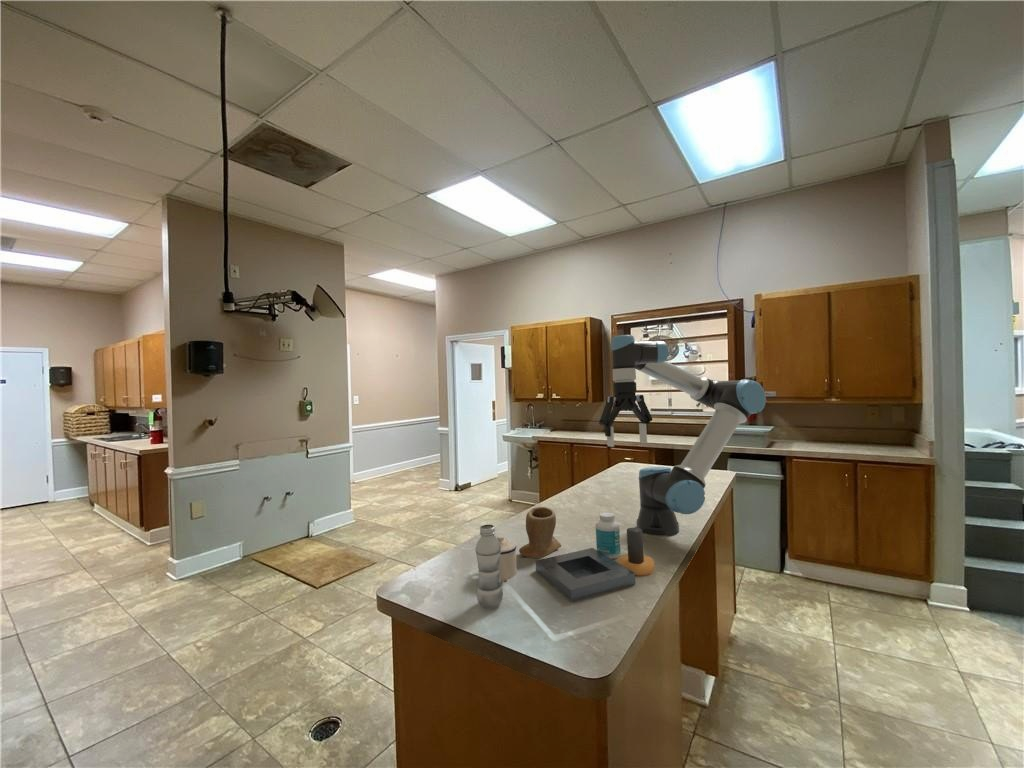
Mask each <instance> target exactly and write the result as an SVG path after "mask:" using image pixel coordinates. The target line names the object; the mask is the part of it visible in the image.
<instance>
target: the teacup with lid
mask: <svg viewBox="0 0 1024 768" xmlns="http://www.w3.org/2000/svg"><path fill="white" fill-rule="evenodd" d="M496 538H497V539H498V541H499V542H500V545H501V554H500V580H501V583H507V581H508V579H511V578H514V577H515V576H516V575H517V571H518V569H517V550H516V549H517V545H516V543H515V542H514V541H513V540H510V539H507V538H505V537H504V536H503V535H498V536H496Z"/></svg>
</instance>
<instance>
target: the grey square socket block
mask: <svg viewBox="0 0 1024 768" xmlns="http://www.w3.org/2000/svg"><path fill="white" fill-rule="evenodd" d="M535 572H536V573H538V574H539V575H540V576H541V577H542V578H543V580H546V581H547V582H548V583H549V584H550V585H551V586H552V587H553V588H554V589H556V590H557V591H558V592H559V593H561V595H562V596H563V597H565V599H567V600H568V601H569V602H570V603H574V602H577V601H581V600H584V599H588V598H591V597H594V596H597V595H599V596H600V595H601V594H606V593H609V592H612V591H615V590H619V589H623V588H627V587H631V586H635V585H636V575H635V573H634V572H632V571H631V570H629V569H627V568H626V567H624V566H622V565H621V564H619V563H618V561H616V560H614V559H611V558H609V557H607V556H605V555H604V554H602V553H600V552H599V551H597V549H595V548H593V547H590V548H586V549H582V550H581V549H580V550H576V551H573V552H568V553H564V554H559V555H556V556H550V557H546V558H542V559H538V560H535Z"/></svg>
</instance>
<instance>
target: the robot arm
mask: <svg viewBox="0 0 1024 768" xmlns="http://www.w3.org/2000/svg"><path fill="white" fill-rule="evenodd" d="M610 349H611V350H610V352H611V363H612V364H611V365H612V381H613V383H612V387H613V388H612V389H613V393H614V396H606V398H605V400H606V402H605V404H604V405H605V406H604V409H603V411H602V413H601V416H600V418H599V419H600V420H599V422H598V425H600V426H603V427H604V436H605V437H606V443H607V444H606V445H607V447H611V448H615V437H614V436H615V435H614V426H612V425H613V423H614V421H615V420H616V418H617V417H618V415H619V414H620V412H621V411H623V410H629V409H630V410H631V411H632V413H633V415H635V417H637V419H638V420H639V424H638V428H639V429H638V430H639V443H642V444H648V437H647V433H648V432H649V429H648V428H649V427H648V425H649V424H650V423H651V422H652V421H653V417H652V414H651V413H650V411H649V409H648V406H647V404H646V402H645V396H644V395H643V394H636V392H637V382H636V381H635V380H636V379H637V375H636V374H637V371H639V372H641V373H644V374H645V375H648V376H650V377H652V378H654V379H656V380H658V381H660V382H662V383H665V384H666V385H668V386H670V387H673V388H675V389H677V390H679V391H681V392H683V393H685V394H687V395H689V396H690V399H692V400H693V401H696V402H697V403H700V404H702V405H704V406H706V407H708V408H711V409H713V410H714V413H712V414H713V415H712V416H711V417H710V419H709V420H708V422H707V423H706V425H705V426H704V429H702V431H701V433H700V434H699V435H698V438H697V439H696V441H695V442H694V444H693V445H692V447H691V448H690V449H689V451H688V453H687V454H686V456H685V457H684V459H683V460H682V462H681V463H680V464H677V465H674V466H673V467H672V468H671V467H669V466H652V467H643V468H641V469H640V470H639V471H638V483H639V486H638V487H639V502H640V503H639V505H640V509H639V512H638V515H637V519H636V522H635V523H636V524H635V525H636V528H640V529H642V534H645V535H651V536H652V535H653V536H658V537H659V536H661V537H662V536H663V537H665V536H672V535H675V534H676V535H677V533H679V532H680V524H679V522H678V519H677V516H676V513H679V514H681V515H691V514H694V513H696V512H698V511H699V510H701V509H702V507H703V505H704V503H705V500H706V497H705V495H706V491H705V488H706V486H707V485H706V481H705V478H706V477H707V475H708V474H709V472H710V470H711V469H712V467H713V465H714V464H715V462H716V461H717V459H718V458H719V456H720V454H721V453H722V451H723V449H724V448H725V446H726V445H727V444H728V442H729V440H730V439H731V437H732V436H733V434H734V433H735V431H736V429H737V428H738V426H739V425H741V424H744V423H746V422H747V421H748V419H749V418H750V416H751V415H754V414H758V413H760V412H761V411H763V409H764V408H765V406H766V403H767V396H766V392H765V389H764V388H763V386H762V385H761V384H760V383H759V382H757V381H755V380H752V379H741V380H715V379H710V378H708V377H705V376H701V377H699V376H697V375H696V374H693V373H692V372H689V371H687V370H685V369H683V368H681V367H679V366H677V365H675V364H673V363H671V362H668V361H667V360H668V357H669V347H668V344H667V343H666V342H665V341H664V340H663V341H661V340H646V341H645V340H643V341H642V340H641V341H636V340H635V336H634V335H633V334H620V335H616V336H613V337H612V338H611V344H610ZM636 370H637V371H636Z"/></svg>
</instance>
